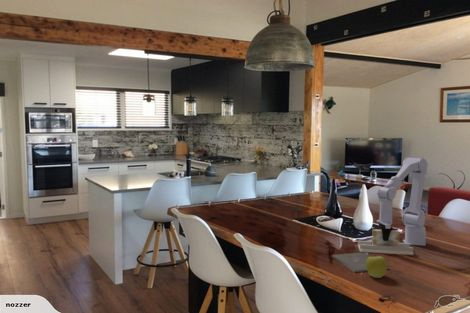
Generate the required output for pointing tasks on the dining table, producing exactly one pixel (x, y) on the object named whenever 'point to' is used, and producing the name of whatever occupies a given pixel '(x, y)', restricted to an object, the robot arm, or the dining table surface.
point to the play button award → (353, 261)
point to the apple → (376, 266)
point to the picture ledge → (385, 248)
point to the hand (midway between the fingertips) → (385, 239)
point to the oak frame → (378, 238)
